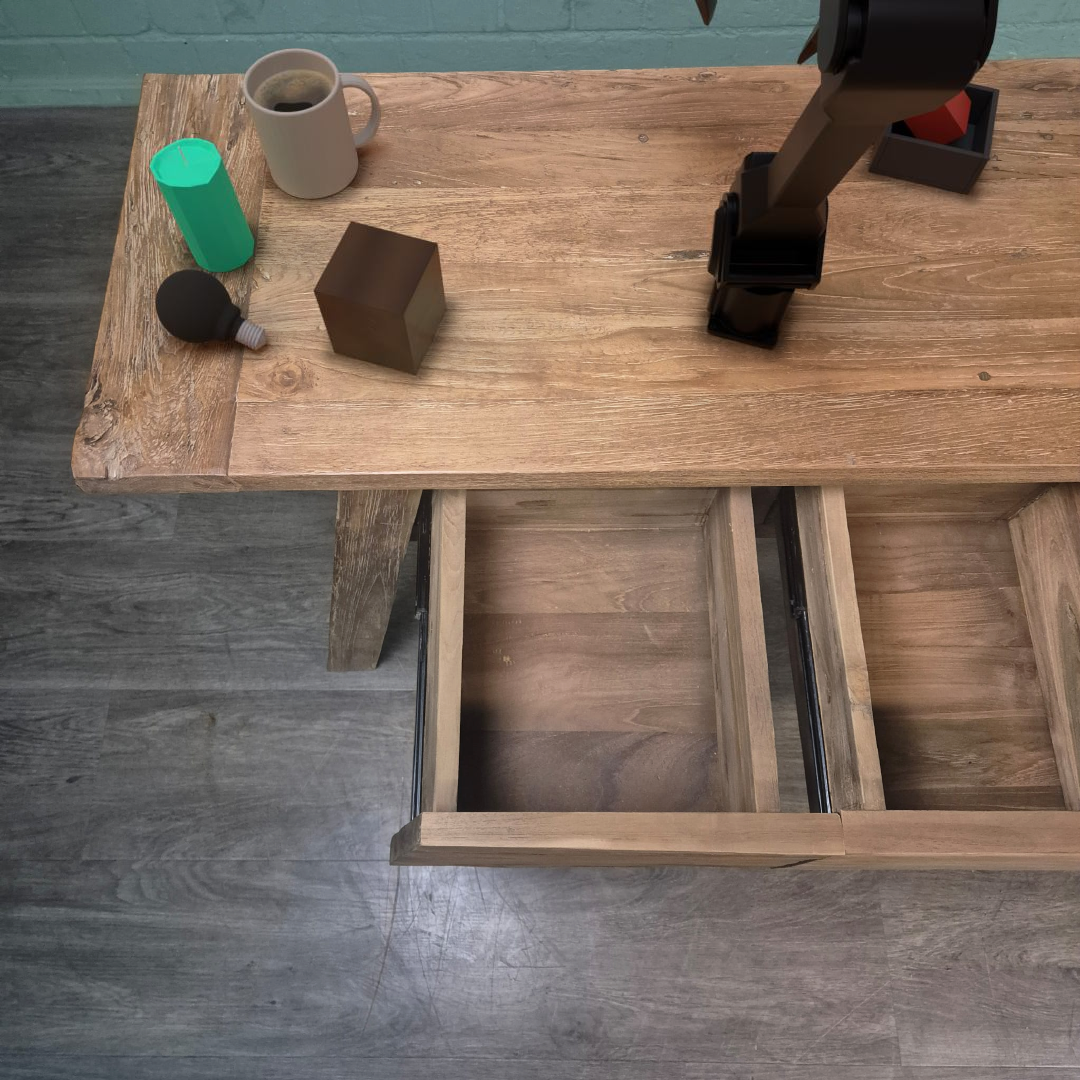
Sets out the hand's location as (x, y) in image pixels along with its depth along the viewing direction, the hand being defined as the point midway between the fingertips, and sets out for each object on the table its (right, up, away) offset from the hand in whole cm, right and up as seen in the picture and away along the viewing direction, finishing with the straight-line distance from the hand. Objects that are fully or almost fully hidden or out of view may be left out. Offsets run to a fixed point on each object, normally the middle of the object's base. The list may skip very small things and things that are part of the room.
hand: (754, 40), depth 81 cm
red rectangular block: (+22, -4, +9) cm, 24 cm away
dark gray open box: (+20, -5, +11) cm, 24 cm away
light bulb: (-49, -27, +1) cm, 56 cm away
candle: (-50, -18, +5) cm, 54 cm away
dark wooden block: (-33, -26, +1) cm, 43 cm away
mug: (-42, -8, +9) cm, 43 cm away
